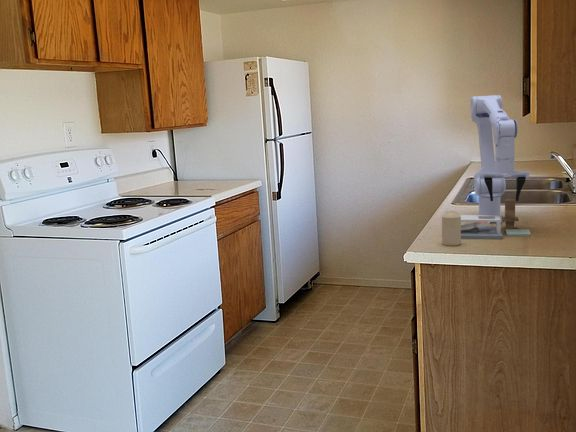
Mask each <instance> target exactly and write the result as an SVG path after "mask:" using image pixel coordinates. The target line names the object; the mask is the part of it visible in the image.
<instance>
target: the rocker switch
mask: <svg viewBox="0 0 576 432" xmlns="http://www.w3.org/2000/svg"><path fill="white" fill-rule="evenodd" d="M482 226H491V222H469V223H465V224H461V230H467V229H472V228H477V227H482Z"/></svg>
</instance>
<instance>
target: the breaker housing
mask: <svg viewBox="0 0 576 432" xmlns="http://www.w3.org/2000/svg"><path fill="white" fill-rule="evenodd" d="M459 215H460V216H461V223H465V222H466V223H474V222H490V223H495V226H491V225H487V226H482V227H477V228H472V229H467V230H461V240H462V239H463V240H464V239H465V240H467V239H469V240H472V239H473V240H476V239H477V240H480V239H481V240H503V239H504V238H503V236H504V235H503V231H502V226H501V224H502V222H501V220H500V216H501V215H500V216H499V215H479V214H469V215H468V214H459ZM479 218H495V219H479Z"/></svg>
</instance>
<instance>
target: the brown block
mask: <svg viewBox="0 0 576 432" xmlns="http://www.w3.org/2000/svg"><path fill="white" fill-rule="evenodd" d="M501 219H502V222H505V225H504V226H505V227H504V228H505V230H506V229H515V222H519V217H518V216H516V198H514V199H513V198H512V199H511V198H509V199H508V198H507V199H506V198H505V199H504V216H501Z"/></svg>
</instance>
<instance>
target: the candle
mask: <svg viewBox="0 0 576 432" xmlns="http://www.w3.org/2000/svg"><path fill="white" fill-rule="evenodd" d="M460 215H461V214H459V213H458V211H454V210H450V211H445V212H444V213H443V215H442V216H441V244H442V245H443V246H447V247H448V246H451V247H452V246H459V245H461V244H462V239H461V225H462V222H461V216H460Z"/></svg>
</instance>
